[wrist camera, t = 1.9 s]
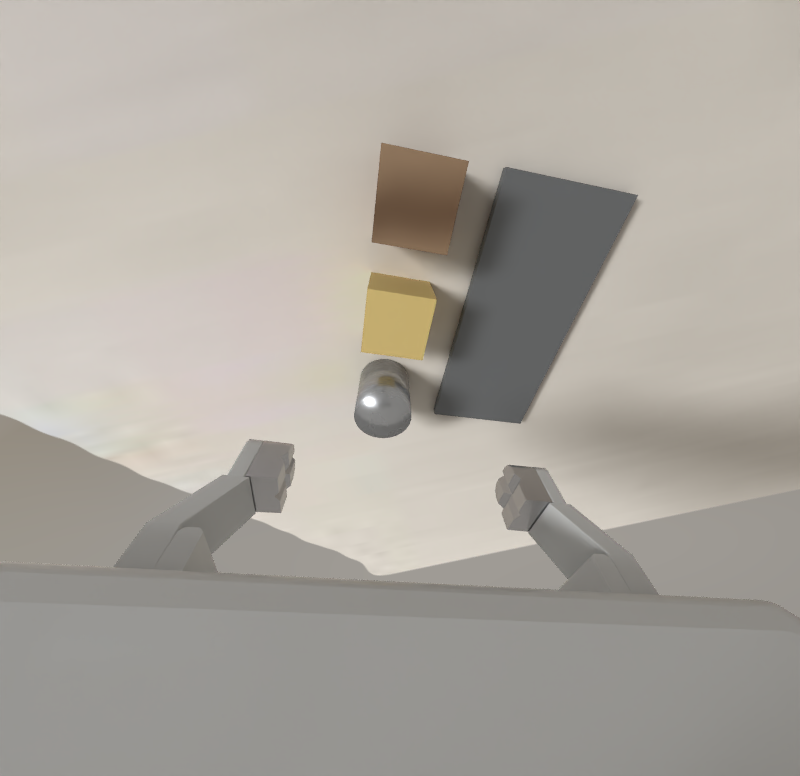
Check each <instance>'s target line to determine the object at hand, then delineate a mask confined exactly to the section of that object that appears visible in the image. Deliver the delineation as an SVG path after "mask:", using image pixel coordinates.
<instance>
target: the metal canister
mask: <svg viewBox="0 0 800 776" xmlns="http://www.w3.org/2000/svg"><path fill="white" fill-rule="evenodd" d="M354 418H355V422H356V424H357V426H358V427H359V428H360V429H361V430H362V431H363V432H364V433H366V434H368V435H370V436H373V437H378V438H388V437H393V436H396V435H398V434H400V433H402V432H403V431H404V430H405V429H406V428H407V427H408V426H409V424H410V421H411V405H410V393H409V382H408V375H407V372H406V370H405V369H404V367H403V366H402V365H400V364H399V363H397V362H395V361H393V360H388V359H380V360H375V361H373V362H371V363H369V364H368V365H367V366H366V367H365V368H364V369H363V371H362V373H361V377H360V383H359V389H358V395H357V401H356V407H355V413H354Z"/></svg>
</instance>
